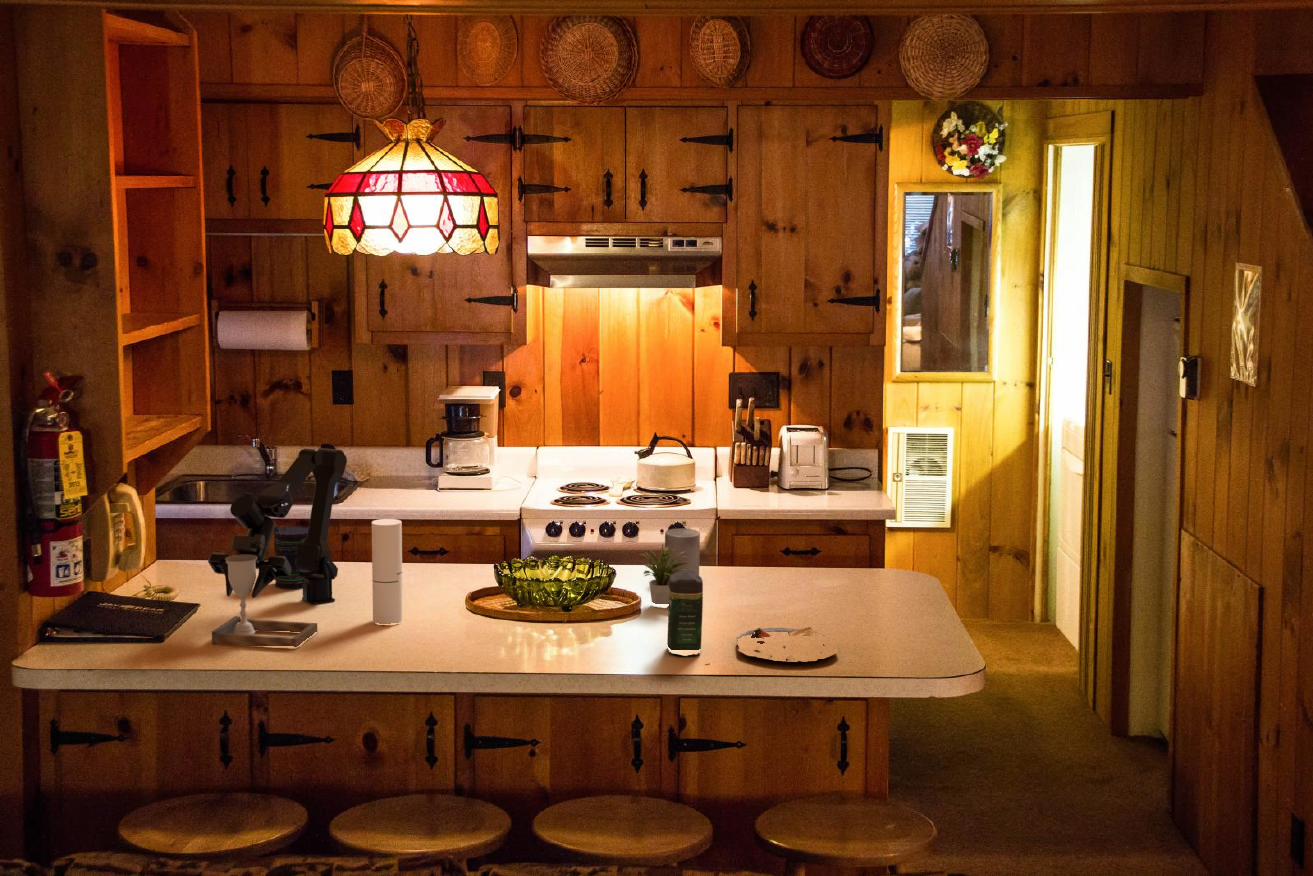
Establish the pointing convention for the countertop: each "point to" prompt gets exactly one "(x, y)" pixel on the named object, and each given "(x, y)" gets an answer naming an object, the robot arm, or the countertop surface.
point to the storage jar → (289, 554)
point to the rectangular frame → (226, 636)
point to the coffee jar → (685, 611)
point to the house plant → (662, 574)
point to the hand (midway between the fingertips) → (240, 596)
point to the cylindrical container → (387, 571)
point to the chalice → (242, 585)
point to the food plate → (792, 632)
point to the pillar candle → (684, 548)
